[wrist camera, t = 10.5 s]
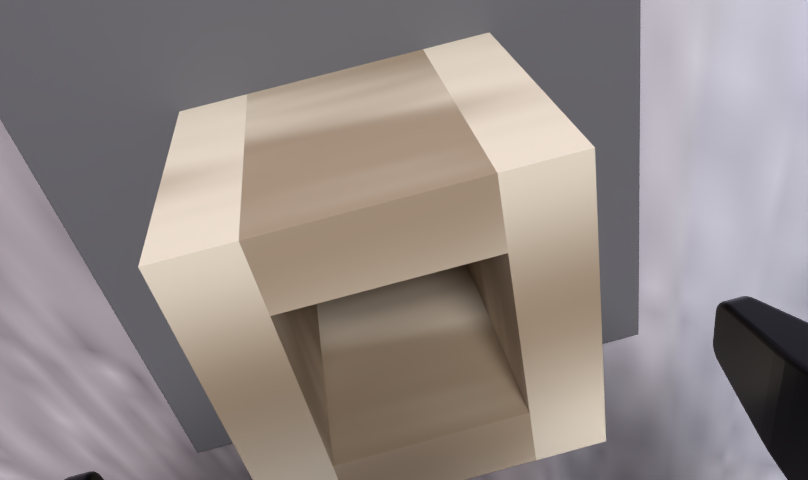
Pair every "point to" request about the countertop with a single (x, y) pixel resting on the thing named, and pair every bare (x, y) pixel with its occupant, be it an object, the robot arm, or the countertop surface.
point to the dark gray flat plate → (267, 68)
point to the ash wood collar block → (387, 269)
